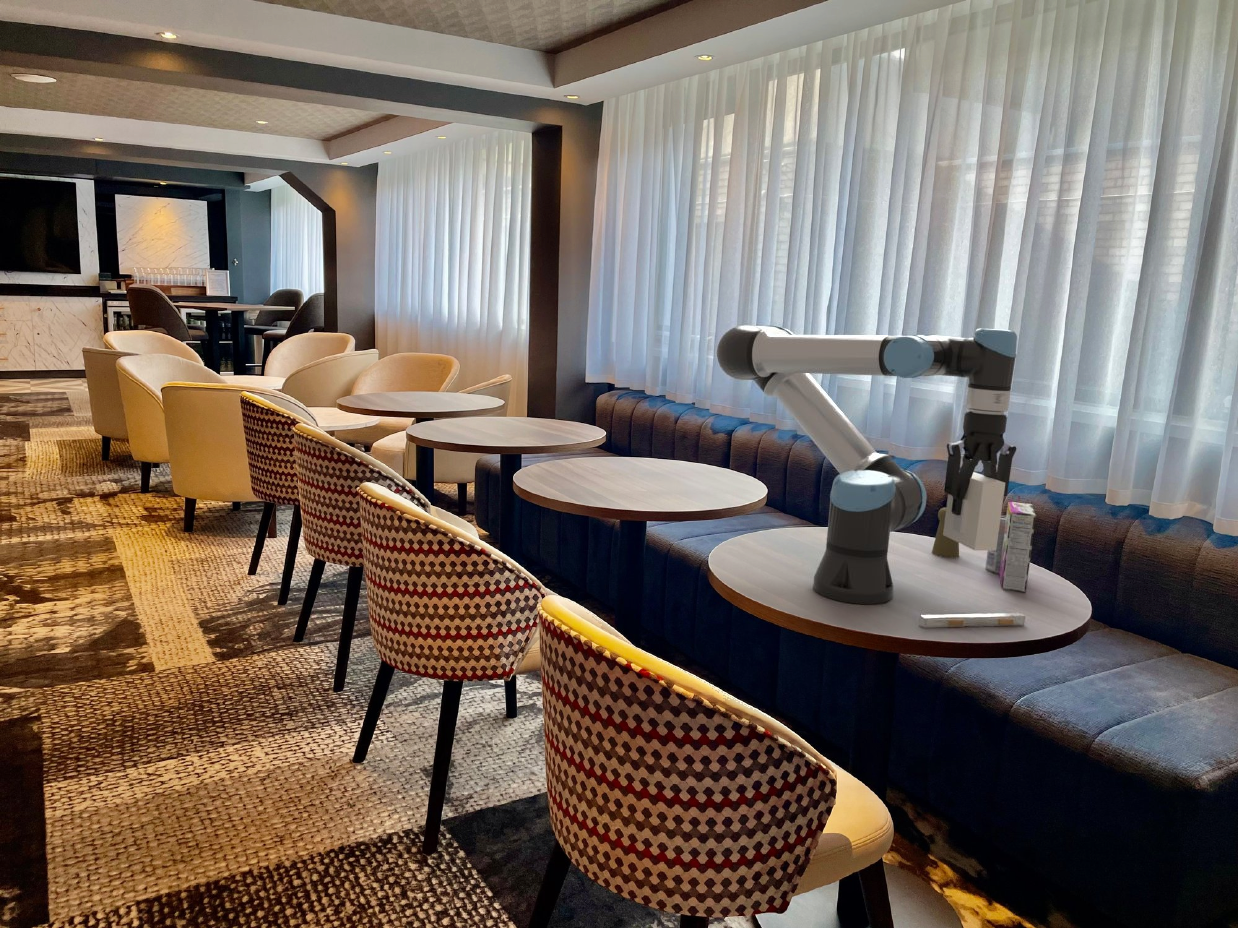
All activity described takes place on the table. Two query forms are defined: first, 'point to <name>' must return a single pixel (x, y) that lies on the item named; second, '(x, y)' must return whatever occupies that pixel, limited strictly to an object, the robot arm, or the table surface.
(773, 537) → the table surface
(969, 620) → the rail
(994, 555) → the energy drink
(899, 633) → the table surface
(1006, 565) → the candy bar box
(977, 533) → the carton box
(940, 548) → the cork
